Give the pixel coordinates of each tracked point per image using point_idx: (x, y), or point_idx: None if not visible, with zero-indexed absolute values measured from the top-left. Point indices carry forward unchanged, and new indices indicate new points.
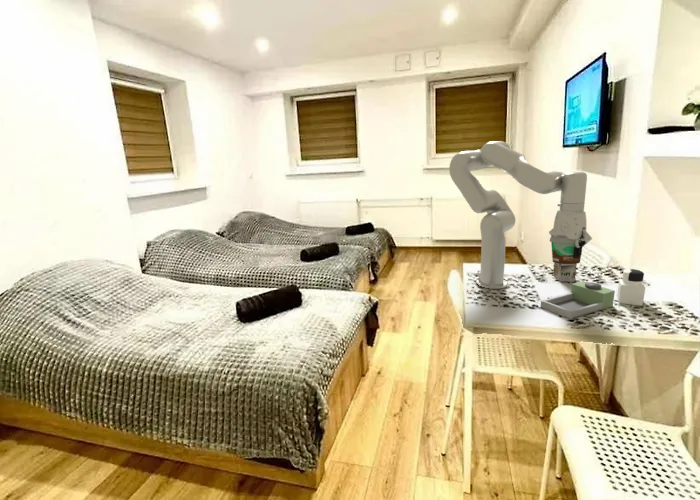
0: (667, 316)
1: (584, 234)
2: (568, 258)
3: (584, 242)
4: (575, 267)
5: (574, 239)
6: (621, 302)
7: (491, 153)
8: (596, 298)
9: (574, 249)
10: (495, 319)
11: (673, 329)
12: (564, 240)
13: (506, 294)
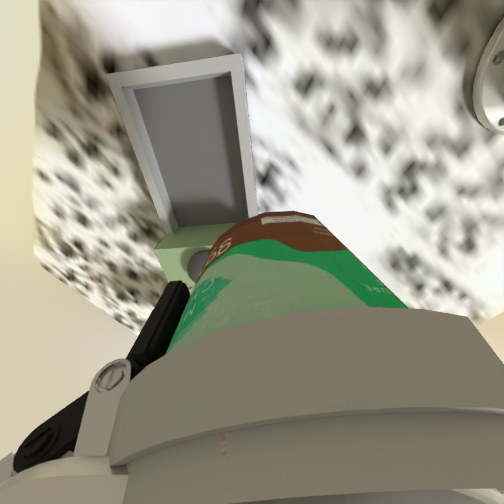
0: (122, 295)
1: None
2: (207, 260)
3: (22, 449)
4: None
5: (10, 484)
6: (193, 287)
7: None
8: (180, 237)
9: (151, 334)
10: None
11: (61, 258)
12: (160, 409)
13: (424, 17)
